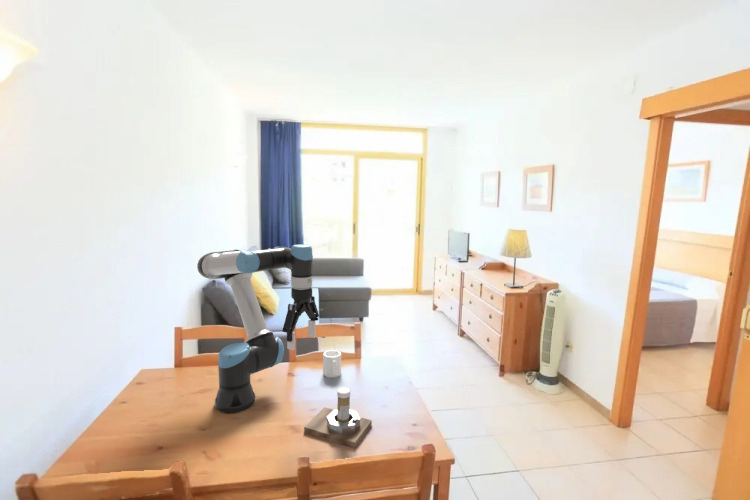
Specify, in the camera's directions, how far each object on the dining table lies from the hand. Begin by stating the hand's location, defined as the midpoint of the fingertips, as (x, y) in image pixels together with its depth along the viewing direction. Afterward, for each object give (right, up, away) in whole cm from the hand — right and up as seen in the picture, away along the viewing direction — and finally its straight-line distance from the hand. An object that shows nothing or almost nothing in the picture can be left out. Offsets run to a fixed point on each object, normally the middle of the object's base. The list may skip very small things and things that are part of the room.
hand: (301, 342), depth 143 cm
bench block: (+14, -30, -4) cm, 33 cm away
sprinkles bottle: (+16, -28, -5) cm, 33 cm away
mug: (+8, -24, +36) cm, 44 cm away
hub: (+16, -28, -5) cm, 33 cm away
